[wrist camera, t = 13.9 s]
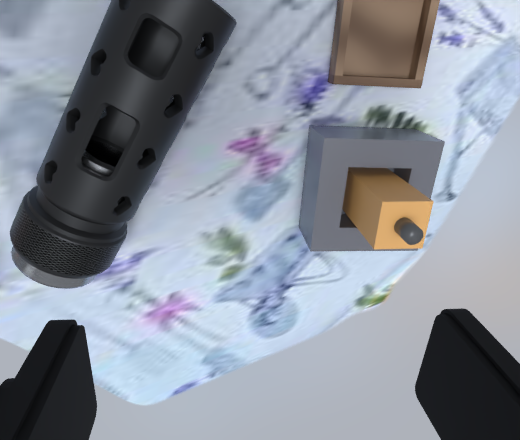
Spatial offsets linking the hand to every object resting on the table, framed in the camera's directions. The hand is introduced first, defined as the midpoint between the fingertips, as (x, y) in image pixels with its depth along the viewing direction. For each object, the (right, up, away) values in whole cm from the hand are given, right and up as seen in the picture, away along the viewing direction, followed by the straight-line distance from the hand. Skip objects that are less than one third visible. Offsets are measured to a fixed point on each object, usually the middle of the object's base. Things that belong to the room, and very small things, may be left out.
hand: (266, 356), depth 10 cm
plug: (+11, +7, +32) cm, 35 cm away
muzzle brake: (-14, +13, +30) cm, 35 cm away
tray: (+12, +22, +28) cm, 38 cm away
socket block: (+11, +8, +34) cm, 37 cm away
